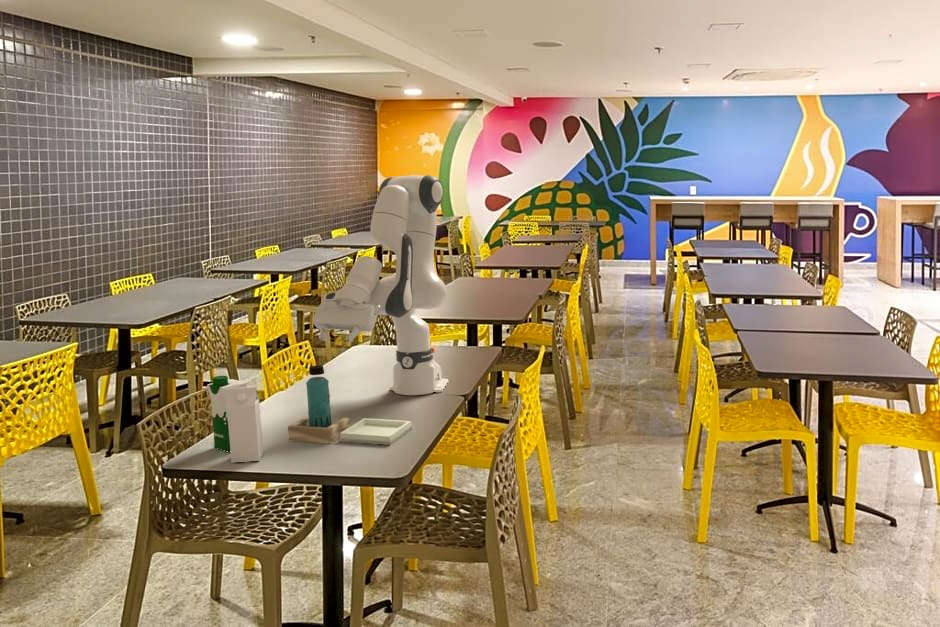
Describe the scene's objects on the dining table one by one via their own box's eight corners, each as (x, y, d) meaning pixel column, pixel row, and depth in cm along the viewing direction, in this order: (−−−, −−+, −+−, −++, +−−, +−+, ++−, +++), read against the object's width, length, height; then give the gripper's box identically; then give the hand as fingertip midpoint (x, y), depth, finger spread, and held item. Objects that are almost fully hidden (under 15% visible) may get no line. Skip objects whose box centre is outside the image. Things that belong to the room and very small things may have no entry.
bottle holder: (309, 428, 254) (308, 415, 254) (349, 431, 250) (348, 418, 249) (288, 440, 244) (287, 426, 243) (330, 443, 239) (329, 429, 239)
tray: (364, 426, 254) (363, 418, 254) (412, 429, 250) (411, 421, 249) (340, 441, 241) (339, 433, 240) (390, 445, 236) (389, 436, 235)
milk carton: (236, 455, 232) (230, 385, 229) (263, 453, 233) (258, 384, 230) (231, 464, 225) (225, 392, 222) (259, 462, 226) (253, 390, 223)
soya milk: (209, 448, 239) (203, 377, 236) (237, 440, 246) (232, 370, 243) (227, 454, 234) (221, 381, 230) (256, 445, 240) (250, 374, 237)
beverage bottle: (313, 440, 243) (308, 369, 240) (306, 434, 249) (301, 365, 246) (335, 436, 246) (331, 366, 243) (328, 430, 252) (323, 362, 249)
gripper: (386, 309, 257) (369, 348, 250) (329, 307, 267) (312, 344, 260) (377, 296, 253) (359, 336, 246) (319, 294, 262) (301, 332, 255)
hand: (334, 340), depth 253 cm, fingers open, 8 cm apart
